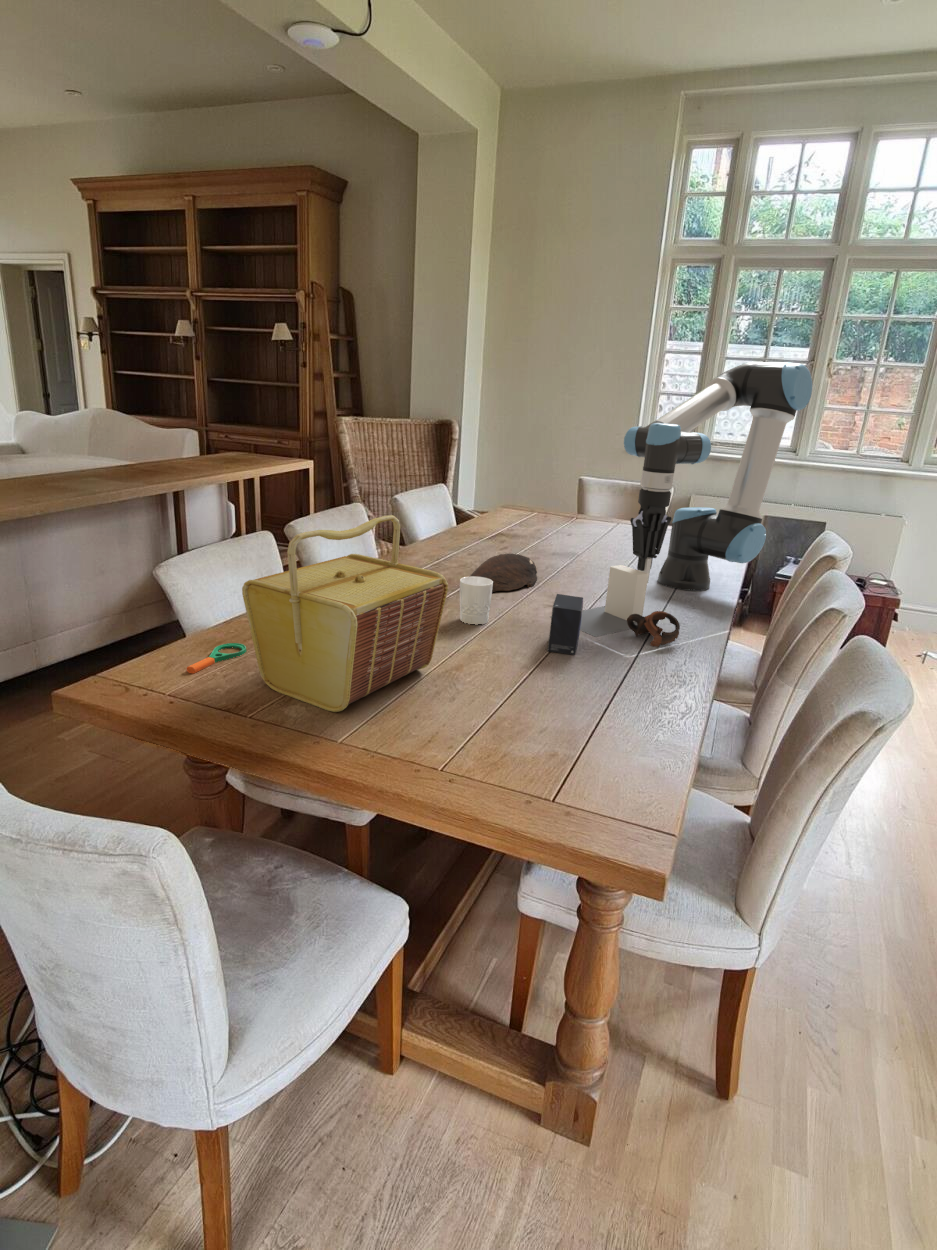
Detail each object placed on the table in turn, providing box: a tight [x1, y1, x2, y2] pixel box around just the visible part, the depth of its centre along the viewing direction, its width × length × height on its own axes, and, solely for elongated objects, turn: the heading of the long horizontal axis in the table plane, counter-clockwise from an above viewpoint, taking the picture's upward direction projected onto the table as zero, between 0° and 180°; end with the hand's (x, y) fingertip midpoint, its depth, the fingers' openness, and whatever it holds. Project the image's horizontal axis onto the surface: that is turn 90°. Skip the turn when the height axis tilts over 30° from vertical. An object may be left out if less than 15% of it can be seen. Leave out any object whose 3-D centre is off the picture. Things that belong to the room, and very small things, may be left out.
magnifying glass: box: [186, 642, 247, 674], centre depth 140 cm, size 15×6×2 cm, turn 161°
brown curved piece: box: [627, 610, 681, 647], centre depth 164 cm, size 12×10×8 cm
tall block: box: [604, 564, 649, 622], centre depth 178 cm, size 4×9×12 cm, turn 36°
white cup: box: [459, 575, 493, 626], centre depth 170 cm, size 8×8×10 cm
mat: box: [549, 605, 637, 638], centre depth 176 cm, size 22×16×1 cm
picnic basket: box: [241, 514, 449, 713], centre depth 130 cm, size 29×26×30 cm
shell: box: [468, 553, 538, 593], centre depth 208 cm, size 34×20×8 cm, turn 161°
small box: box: [546, 593, 584, 656], centre depth 157 cm, size 11×6×10 cm, turn 168°
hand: (642, 582), depth 181 cm, fingers closed
